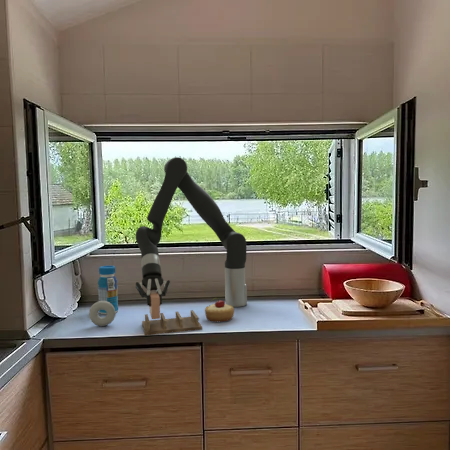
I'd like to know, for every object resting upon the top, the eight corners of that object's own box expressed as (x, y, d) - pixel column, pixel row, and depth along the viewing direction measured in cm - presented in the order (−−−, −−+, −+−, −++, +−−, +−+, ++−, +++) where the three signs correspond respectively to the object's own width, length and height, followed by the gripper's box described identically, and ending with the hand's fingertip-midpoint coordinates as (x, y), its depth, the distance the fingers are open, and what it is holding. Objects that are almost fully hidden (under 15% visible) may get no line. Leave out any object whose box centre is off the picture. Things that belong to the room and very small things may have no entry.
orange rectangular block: (157, 311, 161) (157, 291, 160) (159, 318, 152) (159, 297, 151) (149, 312, 160) (149, 291, 159) (151, 319, 151) (151, 298, 151)
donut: (88, 328, 157) (87, 302, 157) (90, 325, 161) (89, 300, 160) (115, 326, 159) (114, 301, 158) (116, 323, 162) (115, 298, 162)
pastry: (237, 322, 161) (236, 300, 161) (207, 325, 159) (207, 302, 158) (230, 314, 173) (230, 293, 172) (202, 316, 171) (202, 295, 170)
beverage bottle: (95, 314, 175) (94, 268, 174) (102, 309, 184) (100, 265, 183) (115, 314, 175) (113, 268, 174) (121, 309, 184) (119, 265, 182)
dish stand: (194, 319, 167) (194, 308, 166) (202, 329, 153) (201, 318, 153) (142, 324, 161) (141, 313, 161) (144, 335, 148) (144, 324, 147)
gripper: (133, 263, 160) (136, 301, 149) (169, 261, 164) (174, 298, 153) (133, 274, 166) (135, 311, 155) (168, 272, 169) (172, 308, 158)
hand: (154, 305), depth 154 cm, fingers closed on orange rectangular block, 3 cm apart
